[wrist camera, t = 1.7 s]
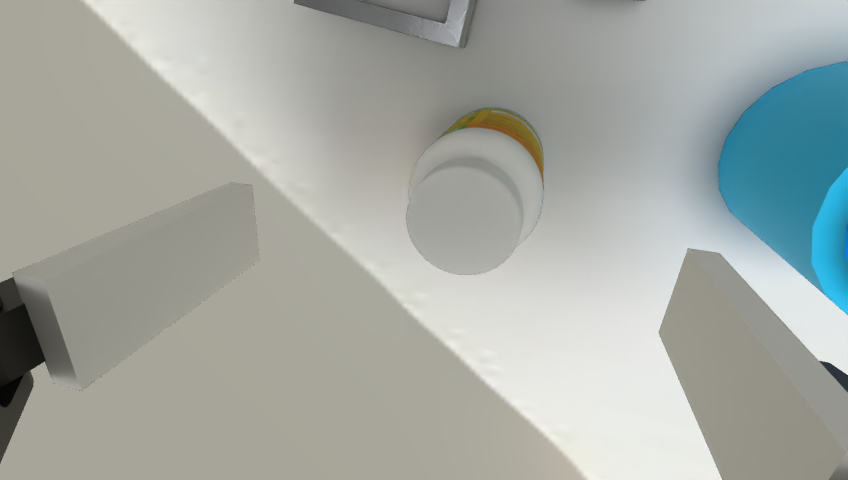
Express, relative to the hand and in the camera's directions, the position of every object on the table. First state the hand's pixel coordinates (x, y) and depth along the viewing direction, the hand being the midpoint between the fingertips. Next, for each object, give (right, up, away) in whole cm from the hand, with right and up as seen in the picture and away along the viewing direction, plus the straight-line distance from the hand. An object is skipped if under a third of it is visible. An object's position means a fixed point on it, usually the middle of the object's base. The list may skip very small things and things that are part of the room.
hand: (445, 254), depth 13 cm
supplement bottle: (+3, +5, +10) cm, 12 cm away
